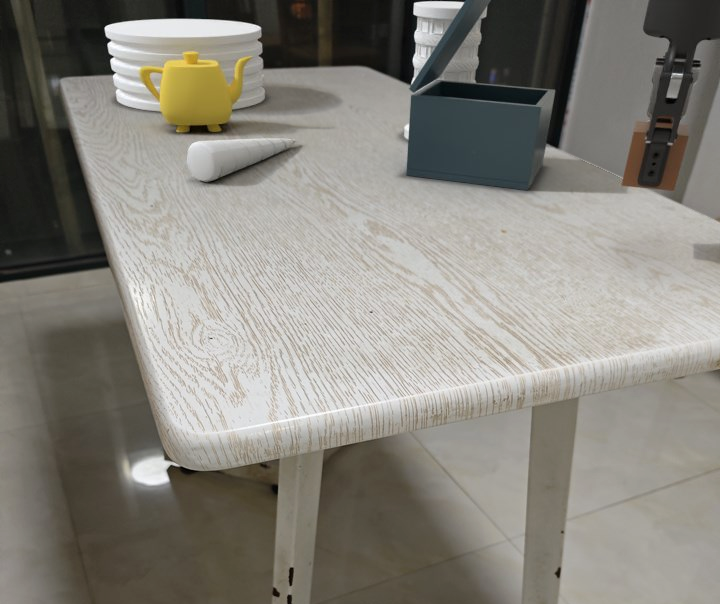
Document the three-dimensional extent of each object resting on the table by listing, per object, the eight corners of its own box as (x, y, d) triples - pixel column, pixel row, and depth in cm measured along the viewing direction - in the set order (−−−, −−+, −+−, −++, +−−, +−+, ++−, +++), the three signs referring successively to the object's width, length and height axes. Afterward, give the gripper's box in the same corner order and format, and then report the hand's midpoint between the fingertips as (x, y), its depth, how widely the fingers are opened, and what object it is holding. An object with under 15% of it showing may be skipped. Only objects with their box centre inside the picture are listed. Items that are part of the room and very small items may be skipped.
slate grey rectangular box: (542, 166, 102) (555, 89, 96) (527, 190, 93) (541, 107, 87) (430, 153, 107) (436, 79, 100) (406, 175, 97) (410, 95, 91)
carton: (674, 177, 73) (688, 124, 70) (673, 191, 69) (689, 136, 66) (624, 172, 74) (636, 120, 71) (621, 185, 70) (633, 131, 67)
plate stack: (119, 85, 144) (107, 18, 137) (256, 83, 149) (252, 18, 142) (114, 114, 123) (100, 37, 116) (274, 110, 128) (270, 36, 121)
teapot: (254, 118, 123) (250, 46, 116) (259, 133, 114) (255, 57, 108) (148, 120, 120) (137, 47, 113) (145, 135, 111) (133, 57, 105)
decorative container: (408, 145, 110) (416, 7, 99) (400, 128, 119) (406, 0, 108) (481, 146, 111) (497, 9, 100) (467, 129, 120) (481, 1, 109)
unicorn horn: (317, 148, 107) (316, 113, 104) (214, 186, 91) (210, 146, 88) (291, 143, 109) (290, 109, 106) (187, 180, 93) (181, 140, 90)
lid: (524, -50, 89) (490, -82, 88) (505, -48, 79) (467, -84, 78) (439, 77, 100) (409, 50, 100) (413, 93, 91) (380, 63, 90)
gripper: (754, -23, 55) (688, 203, 65) (742, -32, 65) (687, 163, 76) (652, -25, 57) (605, 194, 67) (657, -34, 67) (615, 157, 78)
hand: (649, 177), depth 71 cm, fingers closed on carton, 5 cm apart
